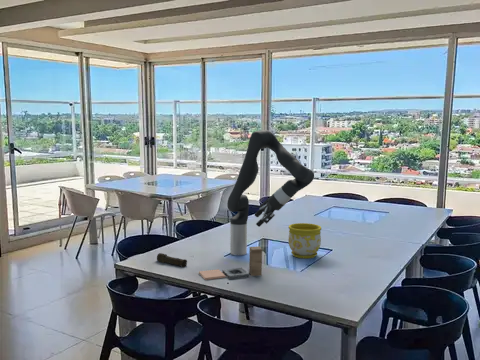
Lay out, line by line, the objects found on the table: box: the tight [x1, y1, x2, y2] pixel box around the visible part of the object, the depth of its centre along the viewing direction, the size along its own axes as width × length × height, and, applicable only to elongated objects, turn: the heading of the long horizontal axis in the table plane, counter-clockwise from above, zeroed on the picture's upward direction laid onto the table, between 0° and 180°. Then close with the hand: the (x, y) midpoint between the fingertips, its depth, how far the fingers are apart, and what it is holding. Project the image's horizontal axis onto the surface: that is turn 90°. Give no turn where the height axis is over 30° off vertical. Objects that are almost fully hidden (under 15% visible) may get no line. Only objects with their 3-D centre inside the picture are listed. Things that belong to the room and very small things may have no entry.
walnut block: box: [248, 245, 263, 277], centre depth 220 cm, size 5×5×13 cm
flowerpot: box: [287, 222, 322, 259], centre depth 252 cm, size 18×18×16 cm
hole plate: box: [221, 267, 250, 280], centre depth 219 cm, size 10×10×2 cm
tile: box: [198, 268, 226, 281], centre depth 218 cm, size 10×10×1 cm
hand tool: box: [156, 252, 188, 268], centre depth 236 cm, size 19×4×5 cm, turn 56°
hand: (256, 220), depth 221 cm, fingers open, 8 cm apart
